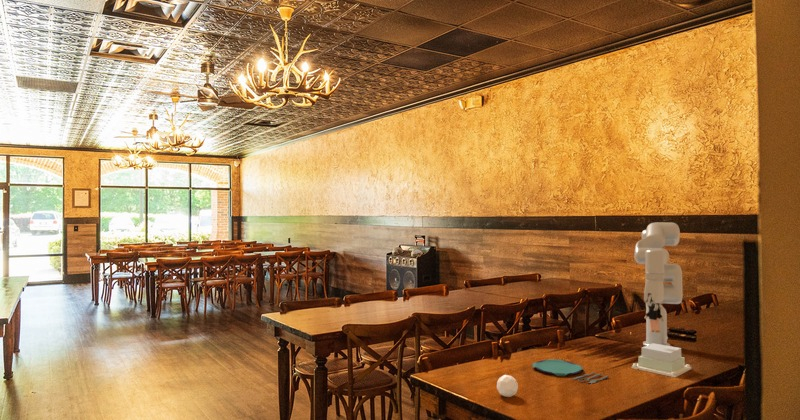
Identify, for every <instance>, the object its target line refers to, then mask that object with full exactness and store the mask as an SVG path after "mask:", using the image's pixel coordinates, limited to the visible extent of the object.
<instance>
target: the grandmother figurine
mask: <svg viewBox="0 0 800 420" xmlns="http://www.w3.org/2000/svg"><path fill="white" fill-rule="evenodd" d="M653 306H654V305H653ZM657 310H658V304H656V311H657ZM647 317H649V312H648V313H647V314H646V313H645V316H644V319H645V320H646V319H647ZM658 317H660V319H661V321H662V322H663V321H664V320H663V317H662V315H661V314H660V313H659V312H657V320H653V319H650V332H654V330H656V333H661V332H660V331H659V318H658Z"/></svg>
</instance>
